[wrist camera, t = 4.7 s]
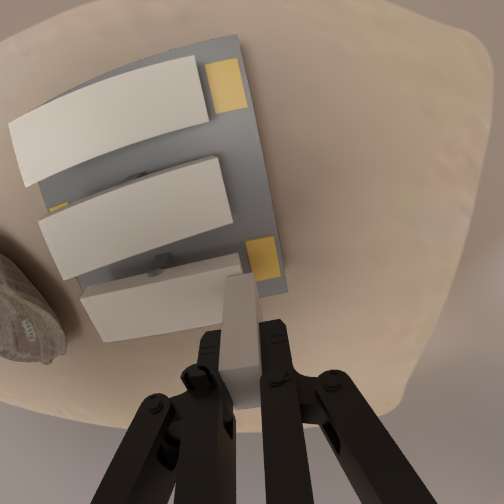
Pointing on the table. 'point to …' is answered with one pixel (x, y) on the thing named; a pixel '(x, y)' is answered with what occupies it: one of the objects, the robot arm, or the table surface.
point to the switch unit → (185, 150)
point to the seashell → (26, 319)
